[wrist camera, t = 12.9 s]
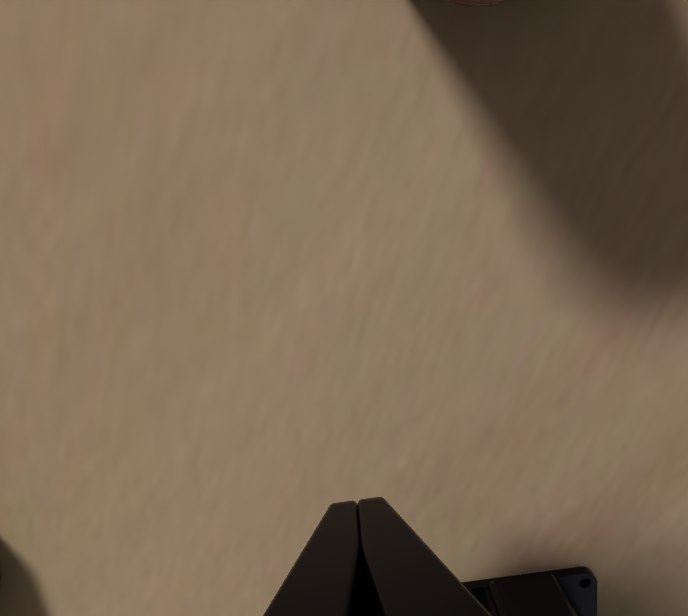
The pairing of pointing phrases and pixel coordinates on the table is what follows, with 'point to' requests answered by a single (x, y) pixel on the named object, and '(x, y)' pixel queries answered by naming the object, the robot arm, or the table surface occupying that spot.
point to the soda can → (478, 2)
